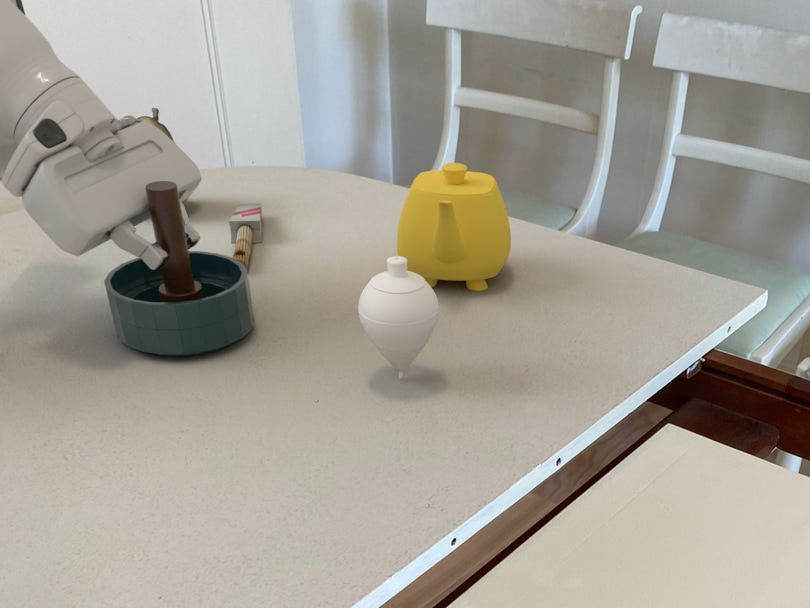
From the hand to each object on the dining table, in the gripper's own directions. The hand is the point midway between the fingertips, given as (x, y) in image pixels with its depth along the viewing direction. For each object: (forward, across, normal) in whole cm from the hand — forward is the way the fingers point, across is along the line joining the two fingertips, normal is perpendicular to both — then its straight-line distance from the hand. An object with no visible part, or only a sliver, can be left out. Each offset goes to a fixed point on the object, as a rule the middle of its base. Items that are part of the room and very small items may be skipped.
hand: (178, 254), depth 98 cm
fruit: (-12, -31, -24) cm, 41 cm away
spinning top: (+24, +1, +12) cm, 26 cm away
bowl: (+5, 0, -6) cm, 8 cm away
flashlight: (+5, 0, -6) cm, 8 cm away
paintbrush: (0, -25, -12) cm, 28 cm away
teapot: (+20, -25, +8) cm, 33 cm away
